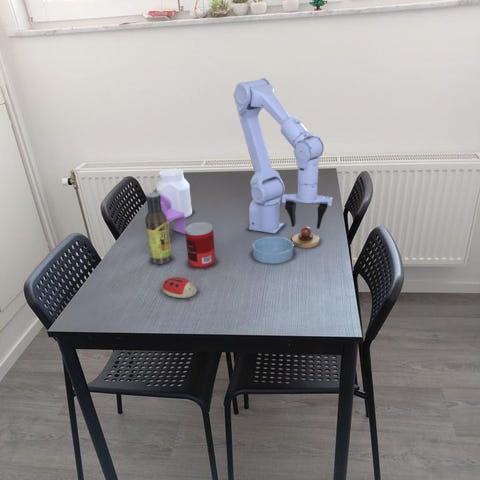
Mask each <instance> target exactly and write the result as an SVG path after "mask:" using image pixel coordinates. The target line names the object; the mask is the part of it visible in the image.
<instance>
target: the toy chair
mask: <svg viewBox="0 0 480 480" xmlns="http://www.w3.org/2000/svg"><path fill="white" fill-rule="evenodd" d="M160 195H161V200H160V201H161V207H162V211H163V212H164V214H165V215H166V217H167V220H168V226H169V224H170V223H171V222H173V221H174V220H175V224H174V227H173V231H175V232H178V233H180V234H183V235H185V228H186V227H187V225H186V218H185V216H184V213H182V212H179V211H176V210H174V209H171V201H170V200H169V199H168V198H167V197H166V196H164V195H163V194H160Z"/></svg>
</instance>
